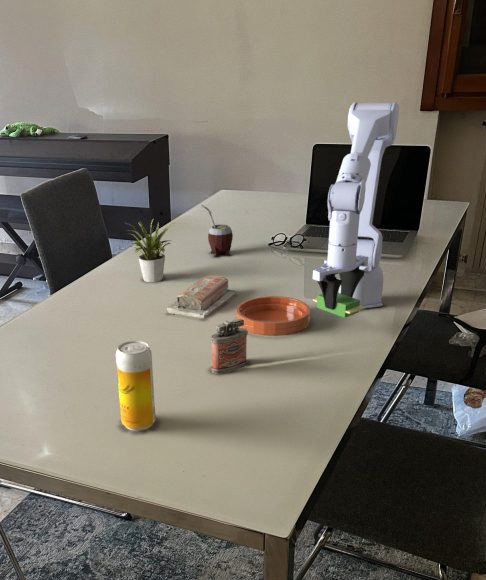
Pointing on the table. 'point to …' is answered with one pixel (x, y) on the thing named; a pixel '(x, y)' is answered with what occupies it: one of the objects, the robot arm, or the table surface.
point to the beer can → (135, 385)
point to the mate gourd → (219, 238)
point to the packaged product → (202, 297)
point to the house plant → (151, 254)
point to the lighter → (229, 347)
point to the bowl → (273, 315)
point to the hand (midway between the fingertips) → (338, 305)
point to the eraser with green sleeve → (341, 305)
